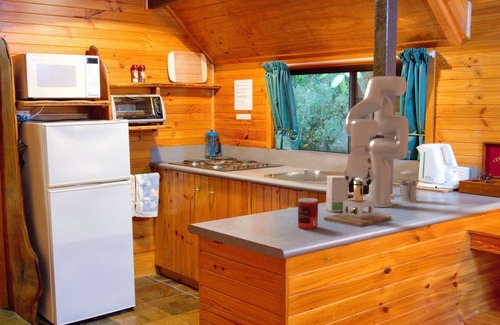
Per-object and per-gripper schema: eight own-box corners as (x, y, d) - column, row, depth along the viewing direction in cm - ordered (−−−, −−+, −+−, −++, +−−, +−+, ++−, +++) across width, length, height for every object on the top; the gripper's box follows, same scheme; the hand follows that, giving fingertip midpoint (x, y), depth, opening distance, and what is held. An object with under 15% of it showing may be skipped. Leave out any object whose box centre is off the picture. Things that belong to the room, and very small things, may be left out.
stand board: (356, 213, 264) (356, 210, 264) (391, 219, 251) (391, 216, 251) (324, 219, 249) (324, 217, 248) (359, 226, 236) (359, 223, 235)
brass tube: (356, 215, 252) (357, 180, 251) (364, 216, 249) (365, 181, 248) (350, 216, 250) (351, 181, 248) (359, 218, 247) (359, 182, 245)
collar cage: (355, 213, 256) (356, 198, 255) (373, 217, 249) (373, 200, 249) (342, 216, 250) (342, 200, 249) (360, 219, 243) (360, 203, 242)
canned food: (315, 225, 238) (316, 197, 237) (318, 229, 230) (319, 201, 229) (296, 225, 238) (297, 197, 237) (299, 229, 230) (299, 201, 229)
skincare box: (330, 212, 266) (331, 177, 264) (325, 209, 272) (325, 175, 271) (348, 211, 268) (349, 176, 266) (342, 208, 274) (343, 174, 273)
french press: (416, 199, 301) (418, 149, 299) (420, 203, 290) (422, 151, 287) (396, 199, 302) (397, 149, 299) (399, 203, 291) (401, 151, 288)
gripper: (382, 151, 243) (381, 195, 245) (348, 148, 255) (347, 190, 257) (372, 152, 238) (370, 197, 240) (337, 149, 250) (336, 192, 252)
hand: (358, 193), depth 248 cm, fingers open, 6 cm apart
